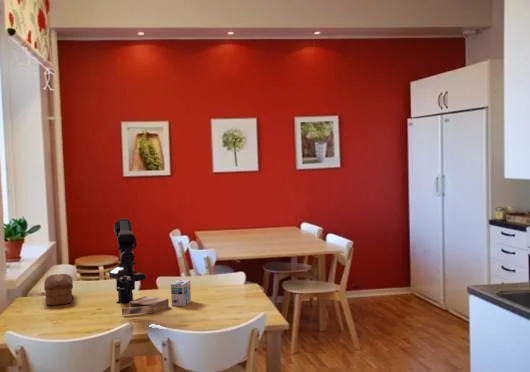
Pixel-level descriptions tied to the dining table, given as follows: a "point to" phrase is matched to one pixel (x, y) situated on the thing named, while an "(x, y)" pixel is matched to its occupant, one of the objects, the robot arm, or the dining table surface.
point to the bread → (58, 289)
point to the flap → (137, 310)
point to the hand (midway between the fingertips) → (127, 293)
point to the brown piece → (150, 303)
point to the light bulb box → (180, 292)
